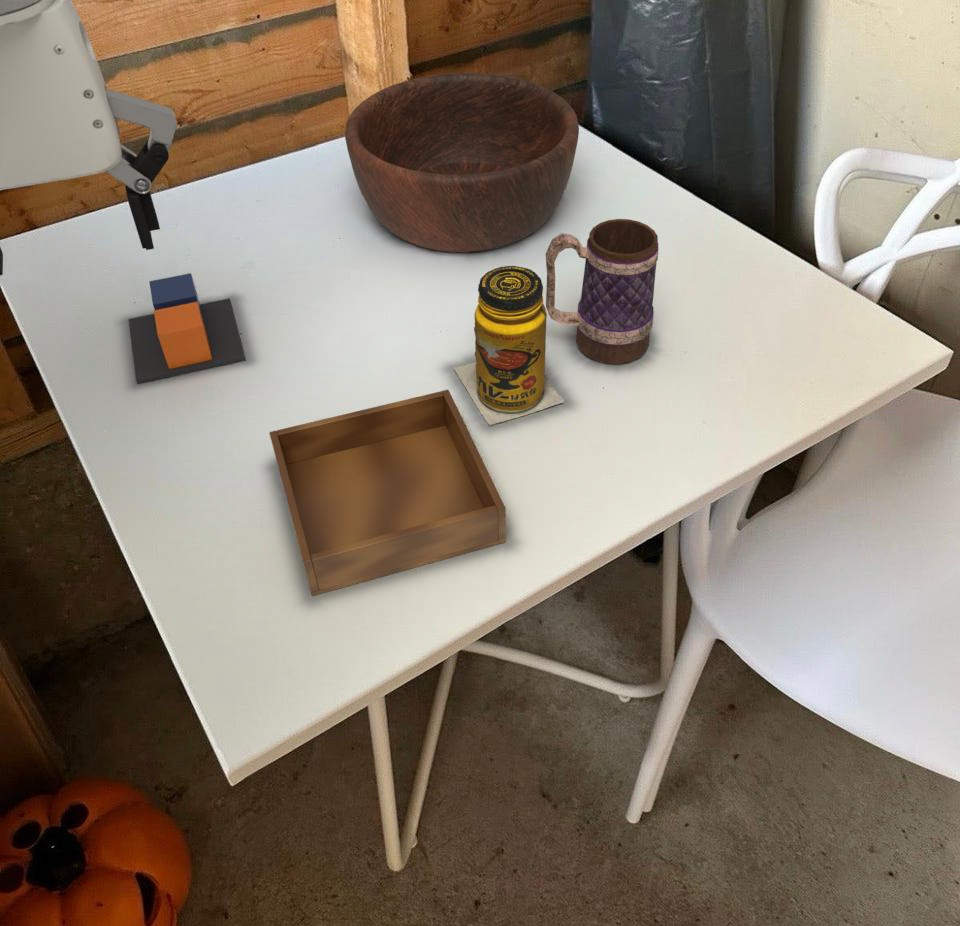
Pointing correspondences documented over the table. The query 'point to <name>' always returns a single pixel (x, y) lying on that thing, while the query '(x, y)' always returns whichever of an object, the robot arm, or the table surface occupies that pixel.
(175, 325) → the orange cube
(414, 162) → the wooden bowl
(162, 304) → the blue cube
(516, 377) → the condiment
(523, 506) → the table surface
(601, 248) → the mug
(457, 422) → the tray
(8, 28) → the robot arm
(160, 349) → the mat
